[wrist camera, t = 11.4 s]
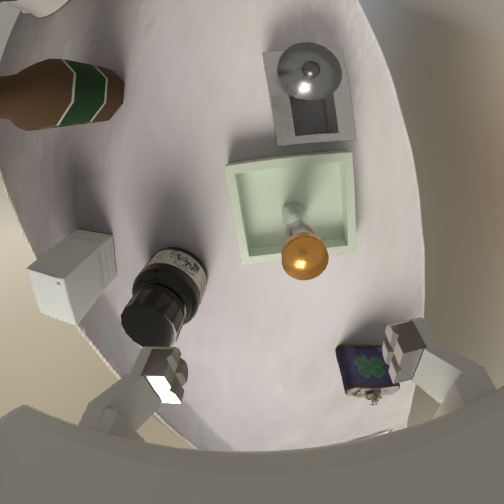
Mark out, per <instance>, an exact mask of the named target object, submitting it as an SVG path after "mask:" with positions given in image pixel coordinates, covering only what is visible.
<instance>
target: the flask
mask: <svg viewBox="0 0 504 504" xmlns="http://www.w3.org/2000/svg"><path fill="white" fill-rule="evenodd" d="M335 351H336V357H337V361H338V364H339V368H340V372H341V376H342V381H343V385H344V390H345V393H346V395H348V396H352V397H365V399H367V400H372V403H376V404H377V402H378V401H379V400H380V399H382V397H381V396H384V395H390V394H393V393H395V392H397V391H398V390H399V389H400V384H399V383H395V384H393V382H392V380H391V377H390V374H389V368H390V366H389V365H388V364H386V363H385V360H384V357H383V351H382V346H380V345H376V346H370V345H362V346H358V345H354V346H353V345H348V344H342V345H339V346H337V348H336V350H335ZM373 405H375V404H370V406H373Z"/></svg>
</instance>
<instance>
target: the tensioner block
mask: <svg viewBox="0 0 504 504" xmlns="http://www.w3.org/2000/svg"><path fill="white" fill-rule="evenodd" d="M263 62H264V68H265V74H266V79H267V85H268V91H269V97H270V103H271V109H272V115H273V122H274V128H275V135H276V142H277V145H278V146H284V145H293V144H303V143H315V142H328V141H345V140H356V132H355V123H354V115H353V107H352V100H351V93H350V87H349V81H348V75H347V70H346V64H345V59H344V54H343V50H342V48H325V47H323V46H321V45H318V44H315V43H299V44H295V45H293V46H291V47H289V48H288V49H286V50H280V51H270V52H263ZM292 98H296V99H299V100H302V101H309V102H311V101H319V100H322V99H324V103H325V110H326V118H327V125H328V132H322V133H309V134H298V135H295V131H294V124H293V117H292V110H291V104H290V99H292Z"/></svg>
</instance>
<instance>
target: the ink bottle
mask: <svg viewBox="0 0 504 504" xmlns="http://www.w3.org/2000/svg"><path fill="white" fill-rule="evenodd" d="M206 285H207V274H206V271H205V268H204V266H203V265H202V263H201V262H200V261H199V260H198V259H197V258H196V257H195V256H194V255H193V254H191V253H189V252H188V251H186V250H183V249H180V248H175V247H169V248H165V249H162V250H160V251H158V252H157V253H156V254H155V255H154V256H153V257H152V258H151V259H150V260H149V262H148V263H147V264H146V265H145V267H144V268H143V269H142V271H141V272H140V273H139V274H138V276H137V277H136V279H135V281H134V283H133V288H132V295H133V297H132V298H131V300H130V301H129V302H128V304H127V305H126V307H125V308H124V311H123V313H122V314H121V322H122V323H121V324H122V326H123V328H124V330H125V332H126V334H128V335H129V337H130V338H131V339H132V340H133V341H134V342H136V343H138V344H139V345H141V346H142V347H144V346H146V347H172V346H173V345H174V343H175V342H176V341H177V339H178V336H179V333H180V331H181V328H182V326H183V325H184V324H186V323H188V322H189V321H190V320H191V319H192V318H193V317H194V316H195V314H196V312H197V310H198V307H199V304H200V303H201V301H202V298H203V295H204V292H205V289H206Z"/></svg>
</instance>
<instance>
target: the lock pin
mask: <svg viewBox="0 0 504 504" xmlns="http://www.w3.org/2000/svg"><path fill="white" fill-rule="evenodd" d="M282 222H283V231H284V240H285V243H284V245H283V247H282V252H281V256H282V265H283V268H284V270H285V271H286V273H287V274H288V275H290V276H291V277H293V278H295V279H298V280H309V279H313V278H315V277H317V276H319V275H320V274H321V273H322V272H323V271H324V270H325V268H326V266H327V264H328V252H327V249H326V247H325V245H324V242H323V241H322V240H321V238H319V237H318V236H317V235H316V234H315V232H314V229H313V226H312V224H311V221H310V219H309V216H308V214H307V211H306V209H305V207H304V206H303V205H302V204H301V203H300V202H297V201H291V202H288V203H287V204H285V205H284V207H283V209H282Z"/></svg>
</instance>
